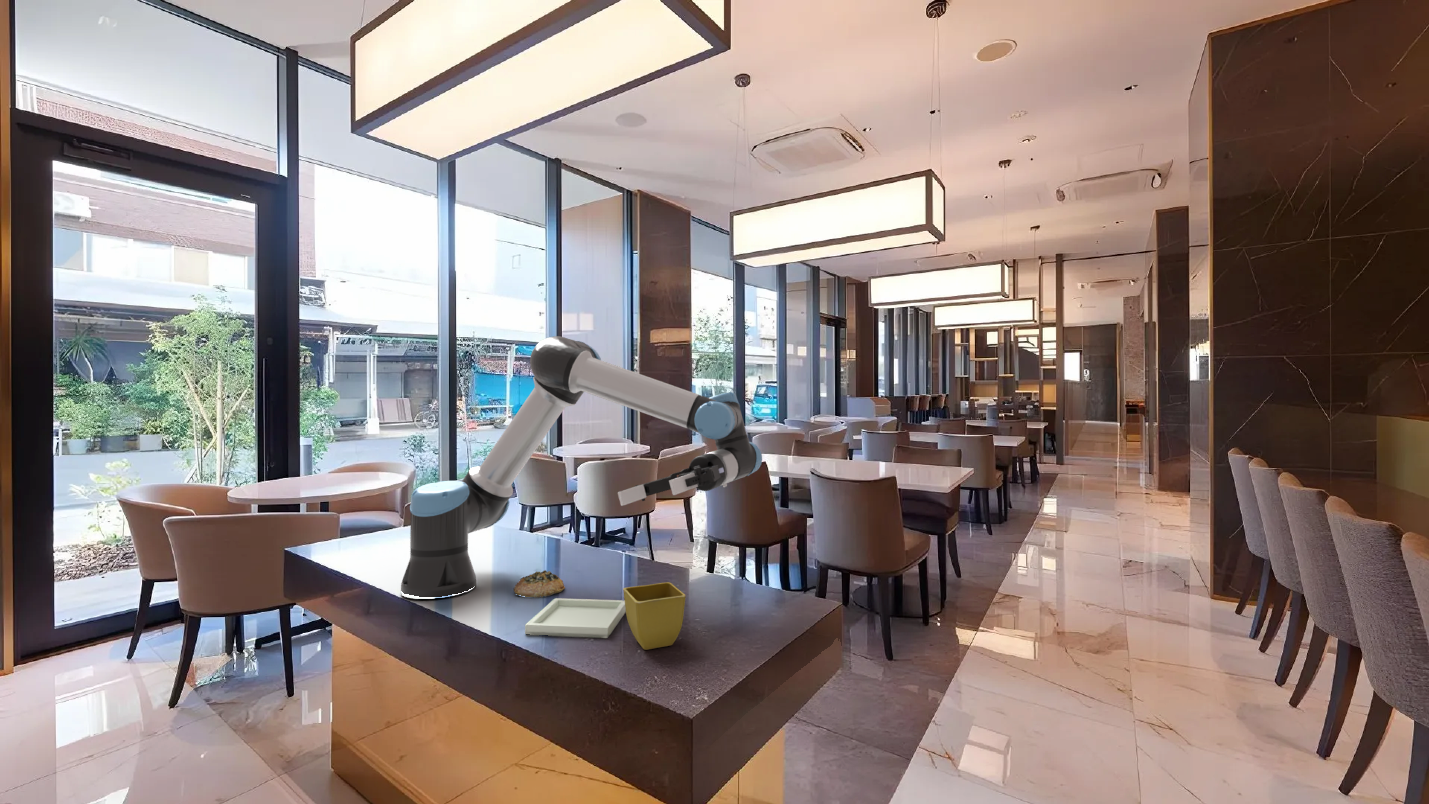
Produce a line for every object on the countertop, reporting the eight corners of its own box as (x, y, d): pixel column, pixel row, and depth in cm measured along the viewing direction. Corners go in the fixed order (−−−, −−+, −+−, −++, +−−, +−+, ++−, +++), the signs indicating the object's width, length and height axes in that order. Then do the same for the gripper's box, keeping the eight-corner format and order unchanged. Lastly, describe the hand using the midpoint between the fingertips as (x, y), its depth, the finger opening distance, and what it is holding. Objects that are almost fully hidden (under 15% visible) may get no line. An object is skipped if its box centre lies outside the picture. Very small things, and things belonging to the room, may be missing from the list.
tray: (525, 634, 106) (525, 624, 106) (554, 607, 121) (555, 598, 121) (607, 638, 105) (607, 627, 105) (627, 609, 120) (627, 600, 120)
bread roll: (534, 580, 139) (536, 560, 139) (574, 593, 135) (576, 571, 135) (501, 596, 129) (503, 574, 129) (543, 610, 125) (545, 587, 125)
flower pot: (635, 657, 97) (636, 601, 97) (622, 638, 105) (622, 587, 105) (686, 649, 100) (686, 595, 100) (669, 631, 108) (669, 581, 108)
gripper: (765, 477, 120) (702, 503, 102) (674, 496, 134) (605, 521, 117) (755, 441, 120) (690, 461, 103) (665, 463, 135) (596, 484, 117)
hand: (645, 493), depth 110 cm, fingers open, 13 cm apart
